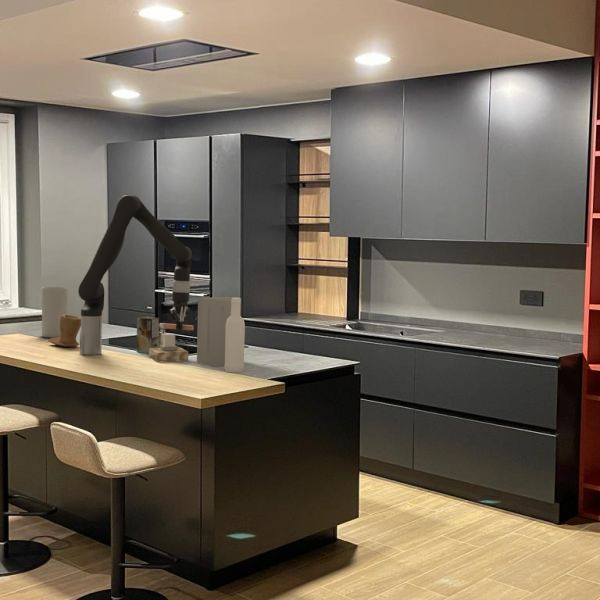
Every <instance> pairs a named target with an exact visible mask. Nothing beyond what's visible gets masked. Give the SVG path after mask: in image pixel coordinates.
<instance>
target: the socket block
mask: <svg viewBox="0 0 600 600" xmlns="http://www.w3.org/2000/svg"><path fill="white" fill-rule="evenodd" d="M148 357H149V358H150V359H151V360H152V361H154V360H155V361H154V362H156V361H157V362H156V363H159V361H163V362H188V361H189V351H188V350H186V349H184V348H182V347H179V346H178V350H175V351H163V350H162V349H160V348H149V353H148ZM163 362H162V363H163Z"/></svg>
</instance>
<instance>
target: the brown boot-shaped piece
mask: <svg viewBox="0 0 600 600" xmlns="http://www.w3.org/2000/svg"><path fill="white" fill-rule="evenodd" d="M80 330H81V316H75V315H71V314H70V315H69V314H67V315H62V316H61V319H60V333H61V335H60V337H59V338H58V337H57V338H49V339H48V341H47V342H48V343H50V344H53V345H55V346H60V347H66V348H67V347H70V348H71V347H77V346H80V342H78V341H77V336H78V334H79V333H80Z"/></svg>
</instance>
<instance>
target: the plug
mask: <svg viewBox="0 0 600 600" xmlns="http://www.w3.org/2000/svg"><path fill="white" fill-rule="evenodd" d="M178 347H179V346H178V345H176V334H175V333H165V334H163V345H160V349H162V350H163V351H175V350H178Z"/></svg>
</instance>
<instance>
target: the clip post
mask: <svg viewBox="0 0 600 600" xmlns="http://www.w3.org/2000/svg"><path fill="white" fill-rule="evenodd" d="M163 334H166V328H160V345H163Z"/></svg>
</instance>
